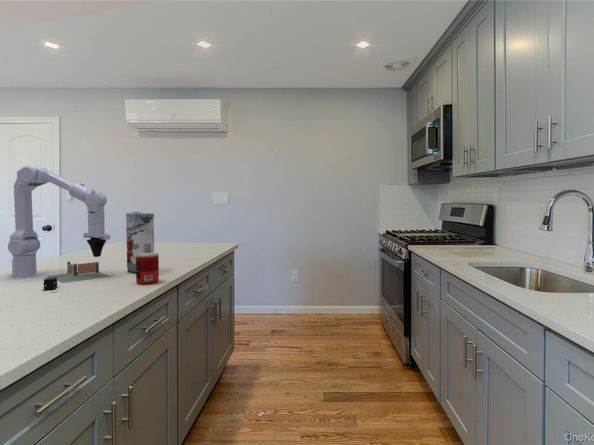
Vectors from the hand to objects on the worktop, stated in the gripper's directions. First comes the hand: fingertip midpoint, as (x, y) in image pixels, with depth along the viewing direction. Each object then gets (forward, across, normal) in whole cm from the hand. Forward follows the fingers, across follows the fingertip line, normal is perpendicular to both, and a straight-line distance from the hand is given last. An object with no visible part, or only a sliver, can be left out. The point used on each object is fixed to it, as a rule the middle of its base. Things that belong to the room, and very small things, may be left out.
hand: (97, 256), depth 139 cm
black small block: (+9, +6, -20) cm, 23 cm away
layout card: (+8, -7, -4) cm, 11 cm away
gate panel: (+8, -8, 0) cm, 11 cm away
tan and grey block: (+8, -11, +1) cm, 14 cm away
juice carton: (+8, +6, +15) cm, 19 cm away
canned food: (+9, +25, +4) cm, 27 cm away
